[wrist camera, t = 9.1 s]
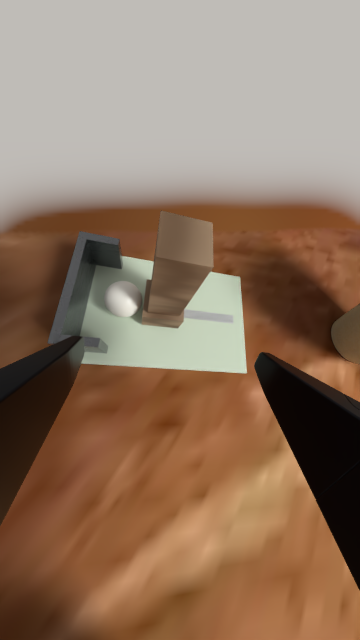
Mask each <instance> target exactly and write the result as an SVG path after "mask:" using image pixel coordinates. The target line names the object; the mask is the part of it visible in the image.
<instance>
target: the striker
mask: <svg viewBox="0 0 360 640" xmlns="http://www.w3.org/2000/svg"><path fill="white" fill-rule="evenodd" d="M212 269H213V223H211V222H207V221H203V220H198V219H194V218H190V217H185V216H181V215H177V214H173V213H169V212H165V211H161V212H160V220H159V227H158V234H157V242H156V249H155V257H154V264H153V271H152V279H151V280H149V279H147V281H146V289H145V297H144V305H143V313H142V325H150V326H159V327H169V328H179V326H180V325H181V324H182V323H183V322H184V309H185V308H186V306H187V305H188V303H189V302H190V300H191V299H192V298H193V296H194V295H195V293H196V292H197V290H198V289H199V287H200V286H201V285H202V283H203V282H204V280H205V279H206V277H207V276H208V274H209V273H210V272H211V270H212Z"/></svg>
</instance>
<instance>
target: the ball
mask: <svg viewBox="0 0 360 640" xmlns="http://www.w3.org/2000/svg"><path fill="white" fill-rule="evenodd" d="M104 302H105V305H106V307H107V309H108V310H109V311H110V312H111V313H112V314H114V315H116V316H118V317H129V316H132V315H134V314H135V313H137V312H138V310H139V309H140V307H141V304H142V295H141V292H140V290H139V289H138V288H137V287H136V286H135V285H134V284H132V283H130V282H127V281H118V282H115V283H113V284H111V285H110V286H109V287H108V288H107V290H106V292H105V295H104Z"/></svg>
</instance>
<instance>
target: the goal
mask: <svg viewBox="0 0 360 640" xmlns="http://www.w3.org/2000/svg"><path fill="white" fill-rule="evenodd" d="M96 265H99V266H105V267H111V268H117V269H122V266H123V262H122V254H121V247H120V240H119V239H117V238H112V237H106V236H101V235H96V234H91V233H86V232H81V231H80V232H79V236H78V239H77V243H76V246H75V250H74V253H73V256H72V260H71V263H70V267H69V270H68V274H67V277H66V281H65V284H64V288H63V291H62V294H61V298H60V301H59V305H58V308H57V312H56V315H55V319H54V322H53V326H52V329H51V333H50V336H49V339H48V344H51V345H53V344H56V343H58V342H60V341H62V340H64V339H66V338H69V337H71V336H80V333H81V329H82V324H83V320H84V316H85V312H86V307H87V303H88V299H89V294H90V290H91V286H92V282H93V277H94V273H95V269H96ZM83 338H84V349H85V352H94V353H107V350H108V345H107V344H106V343H105V342H104V341H102V340H101V339H100V338H93V337H83Z"/></svg>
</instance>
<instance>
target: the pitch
mask: <svg viewBox="0 0 360 640" xmlns="http://www.w3.org/2000/svg"><path fill="white" fill-rule="evenodd" d="M122 262H123V266H122V269H117V268H111V267H105V266H99V265H96V269H95V273H94V277H93V282H92V286H91V290H90V294H89V299H88V303H87V307H86V312H85V316H84V320H83V324H82V329H81V333H80V336H82V337H93V338H100V339H101V340H102V341H104V342H105V343H106V344H107V345H108V350H107V353H94V352H85V353H84V357H83V360H82V362H81V364H97V365H114V366H131V367H147V368H164V369H180V370H197V371H214V372H230V373H247V370H246V355H245V341H244V326H243V312H242V297H241V283H240V277H237V276H231V275H226V274H220V273H214V272H210V273H209V274H208V276H207V277H206V279H205V280H204V282H203V283H202V285H201V286H200V287H199V289H198V290H197V292H196V293H195V295H194V296H193V298H192V299H191V300H190V302H189V303H188V305H187V306H186V308H185V309H184V322H183V323H182V324H181V325H180V326H179V328H169V327H159V326H150V325H142V313H143V305H144V297H145V289H146V281H147V279H149V280H151V279H152V271H153V264H154V262H153V261H147V260H142V259H136V258H130V257H125V256H122ZM118 281H127V282H130V283H132V284H134V285H135V286H136V287H137V288H138V289H139V290H140V292H141V295H142V304H141V307H140V309H139V310H138V312H137V313H135V314H134V315H132V316H129V317H118V316H116V315H114V314H112V313H111V312H110V311H109V310H108V309H107V307H106V305H105V302H104V295H105V292H106V290H107V288H108V287H109V286H110V285H111V284H113V283H115V282H118Z"/></svg>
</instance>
